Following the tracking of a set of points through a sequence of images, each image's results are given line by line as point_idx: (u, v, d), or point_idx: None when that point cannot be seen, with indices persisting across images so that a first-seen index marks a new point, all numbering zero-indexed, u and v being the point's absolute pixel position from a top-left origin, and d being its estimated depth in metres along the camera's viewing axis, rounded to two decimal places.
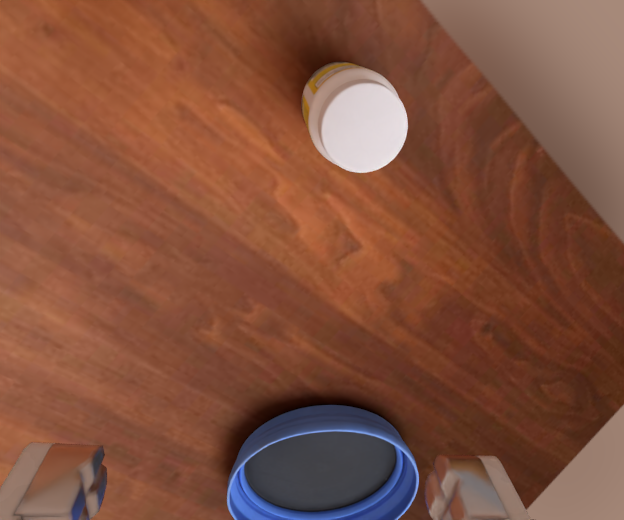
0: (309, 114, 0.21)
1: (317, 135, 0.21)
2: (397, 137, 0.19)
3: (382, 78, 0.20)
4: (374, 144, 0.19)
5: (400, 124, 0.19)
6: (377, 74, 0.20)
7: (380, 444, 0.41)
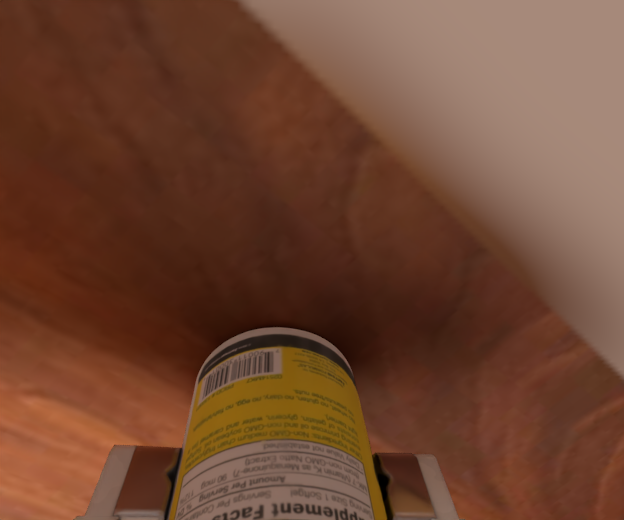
0: None
1: None
2: None
3: None
4: None
5: None
6: None
7: None
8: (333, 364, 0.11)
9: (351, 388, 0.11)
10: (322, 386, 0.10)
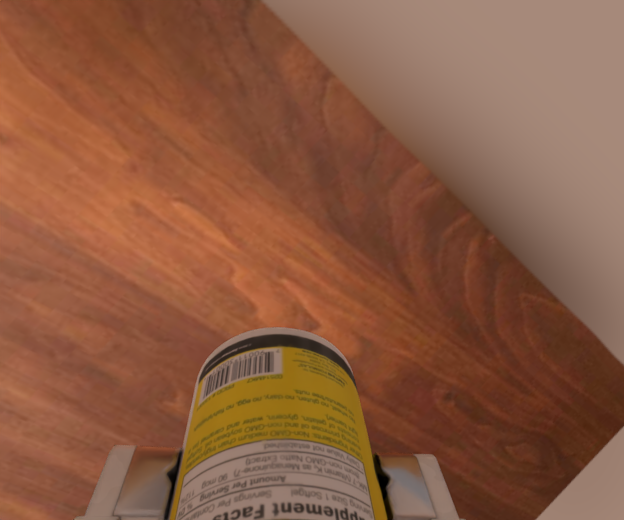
0: None
1: None
2: None
3: None
4: None
5: None
6: None
7: None
8: (333, 364, 0.11)
9: (351, 388, 0.11)
10: (323, 386, 0.10)
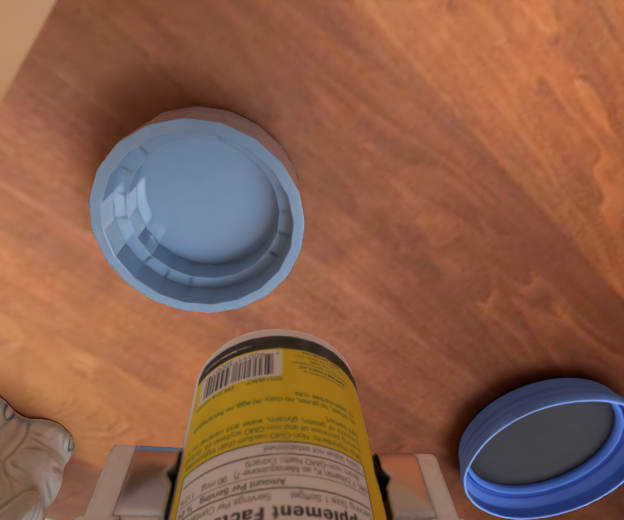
0: None
1: None
2: None
3: None
4: None
5: None
6: None
7: (600, 418, 0.43)
8: (333, 365, 0.11)
9: (351, 390, 0.11)
10: (323, 388, 0.10)
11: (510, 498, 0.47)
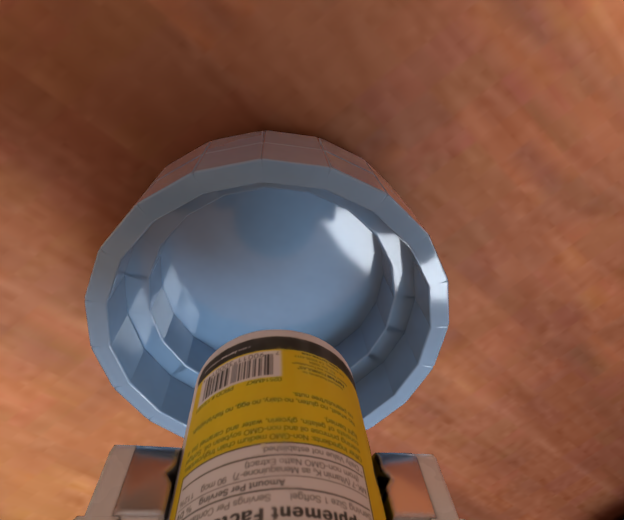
0: None
1: None
2: None
3: None
4: None
5: None
6: None
7: None
8: (333, 366, 0.11)
9: (351, 390, 0.11)
10: (322, 388, 0.10)
11: None
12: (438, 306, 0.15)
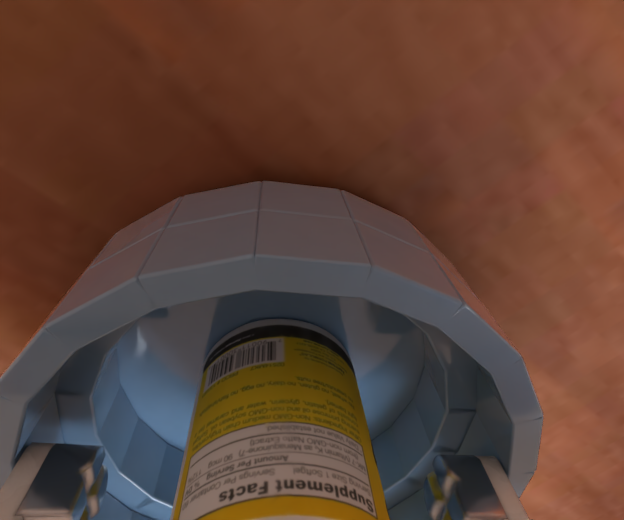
0: None
1: None
2: None
3: None
4: None
5: None
6: None
7: None
8: (333, 353, 0.11)
9: (351, 376, 0.11)
10: (323, 373, 0.10)
11: None
12: (524, 449, 0.10)
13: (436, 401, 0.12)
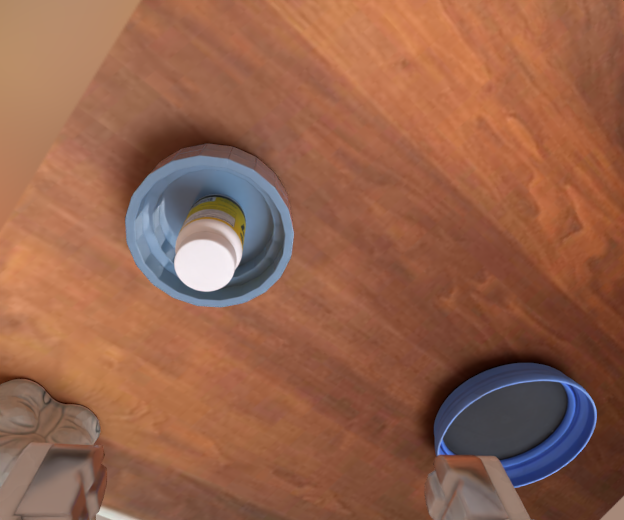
0: (175, 248, 0.30)
1: None
2: (228, 270, 0.28)
3: (222, 226, 0.29)
4: (212, 274, 0.28)
5: (228, 262, 0.28)
6: (218, 223, 0.29)
7: (556, 398, 0.49)
8: (233, 203, 0.34)
9: (239, 211, 0.34)
10: (227, 204, 0.33)
11: None
12: (286, 223, 0.32)
13: (273, 224, 0.35)
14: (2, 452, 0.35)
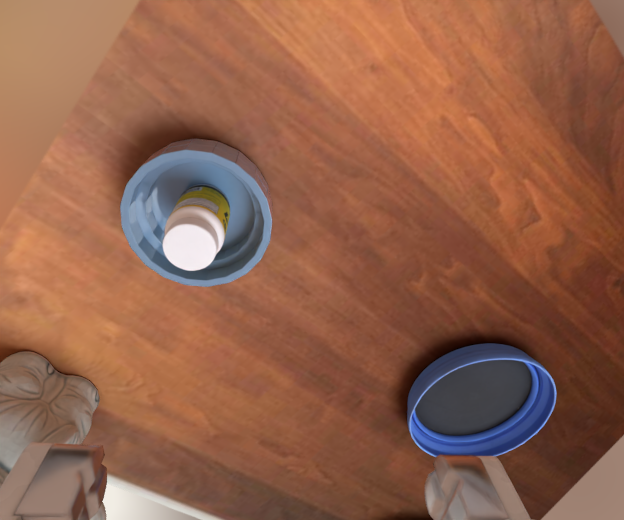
0: None
1: None
2: (210, 251, 0.32)
3: (205, 213, 0.33)
4: (197, 255, 0.32)
5: (210, 245, 0.32)
6: (202, 210, 0.33)
7: (520, 377, 0.53)
8: (218, 193, 0.37)
9: (223, 200, 0.37)
10: (212, 194, 0.36)
11: (453, 446, 0.57)
12: (265, 211, 0.36)
13: None
14: (11, 414, 0.39)
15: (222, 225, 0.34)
